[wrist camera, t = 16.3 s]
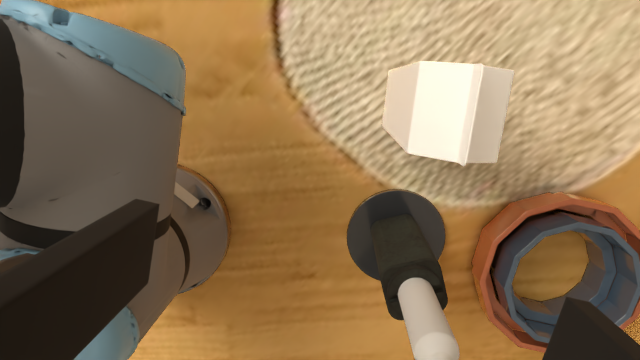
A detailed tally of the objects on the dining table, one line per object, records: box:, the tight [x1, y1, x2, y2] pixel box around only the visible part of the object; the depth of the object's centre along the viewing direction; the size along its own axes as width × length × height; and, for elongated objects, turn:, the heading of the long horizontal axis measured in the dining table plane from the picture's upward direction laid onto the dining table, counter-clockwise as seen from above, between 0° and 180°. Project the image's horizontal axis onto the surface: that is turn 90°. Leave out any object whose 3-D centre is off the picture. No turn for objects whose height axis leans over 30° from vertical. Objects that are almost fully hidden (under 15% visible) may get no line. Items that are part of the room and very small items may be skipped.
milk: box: [382, 61, 514, 166], centre depth 36 cm, size 6×6×22 cm
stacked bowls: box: [472, 192, 640, 353], centre depth 46 cm, size 17×17×6 cm
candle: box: [371, 214, 460, 360], centre depth 37 cm, size 5×5×25 cm
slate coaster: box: [347, 189, 445, 281], centre depth 49 cm, size 11×11×1 cm
